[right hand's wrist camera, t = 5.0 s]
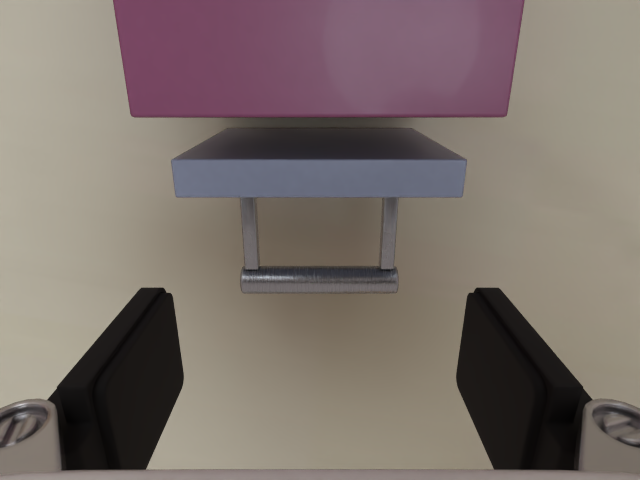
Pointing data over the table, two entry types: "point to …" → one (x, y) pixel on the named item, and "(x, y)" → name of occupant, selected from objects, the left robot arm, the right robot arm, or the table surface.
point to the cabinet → (318, 57)
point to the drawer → (319, 189)
